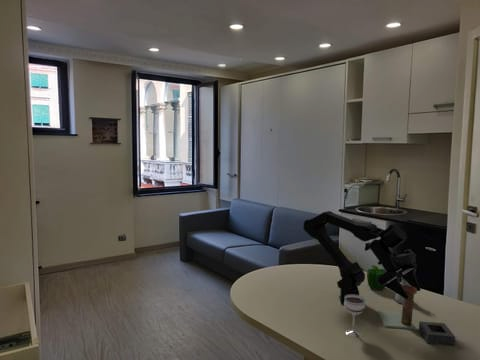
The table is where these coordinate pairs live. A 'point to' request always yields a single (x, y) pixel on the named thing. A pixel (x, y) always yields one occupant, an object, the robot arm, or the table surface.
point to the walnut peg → (408, 305)
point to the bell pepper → (375, 277)
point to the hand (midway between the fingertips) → (413, 294)
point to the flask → (398, 297)
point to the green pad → (393, 320)
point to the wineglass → (354, 310)
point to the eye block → (436, 333)
